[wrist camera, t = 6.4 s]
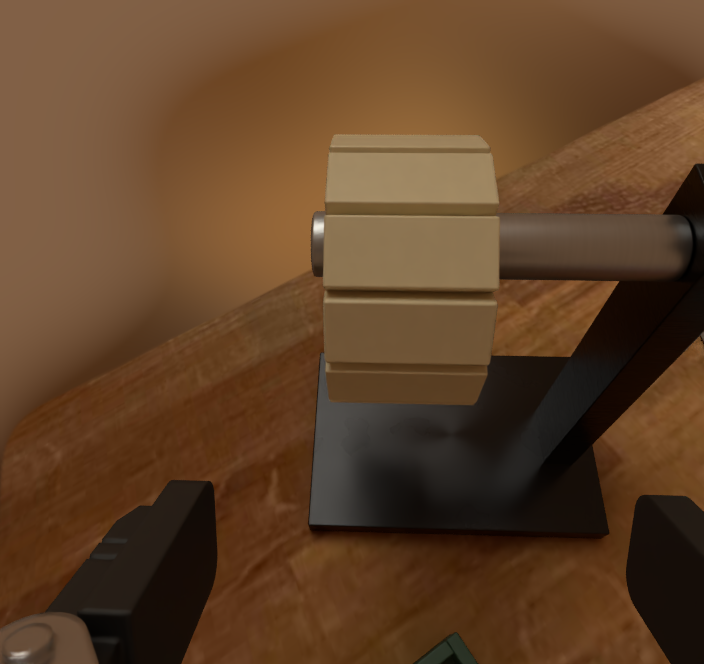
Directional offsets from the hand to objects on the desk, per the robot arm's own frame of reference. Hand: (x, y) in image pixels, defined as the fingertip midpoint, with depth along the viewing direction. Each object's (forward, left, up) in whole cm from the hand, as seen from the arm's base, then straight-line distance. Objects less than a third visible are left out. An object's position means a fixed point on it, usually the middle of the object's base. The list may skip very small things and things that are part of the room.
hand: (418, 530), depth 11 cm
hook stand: (+8, +5, -19) cm, 22 cm away
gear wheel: (+5, +7, -4) cm, 10 cm away
